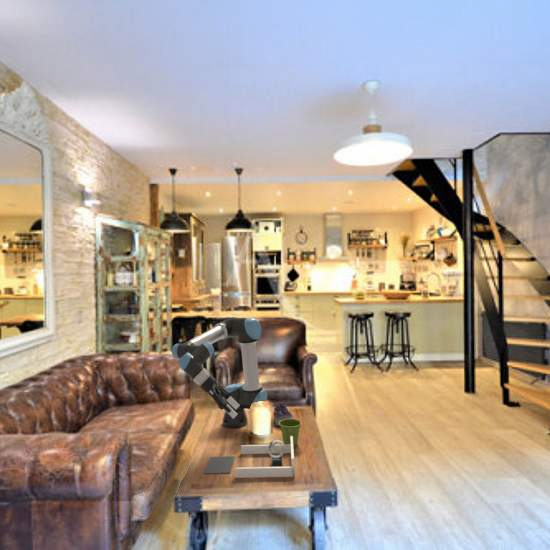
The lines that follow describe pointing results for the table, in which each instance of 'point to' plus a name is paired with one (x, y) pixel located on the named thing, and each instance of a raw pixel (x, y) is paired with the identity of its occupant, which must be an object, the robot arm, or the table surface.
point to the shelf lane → (267, 471)
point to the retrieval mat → (219, 465)
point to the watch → (276, 458)
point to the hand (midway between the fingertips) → (236, 411)
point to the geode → (281, 413)
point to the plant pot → (290, 430)
